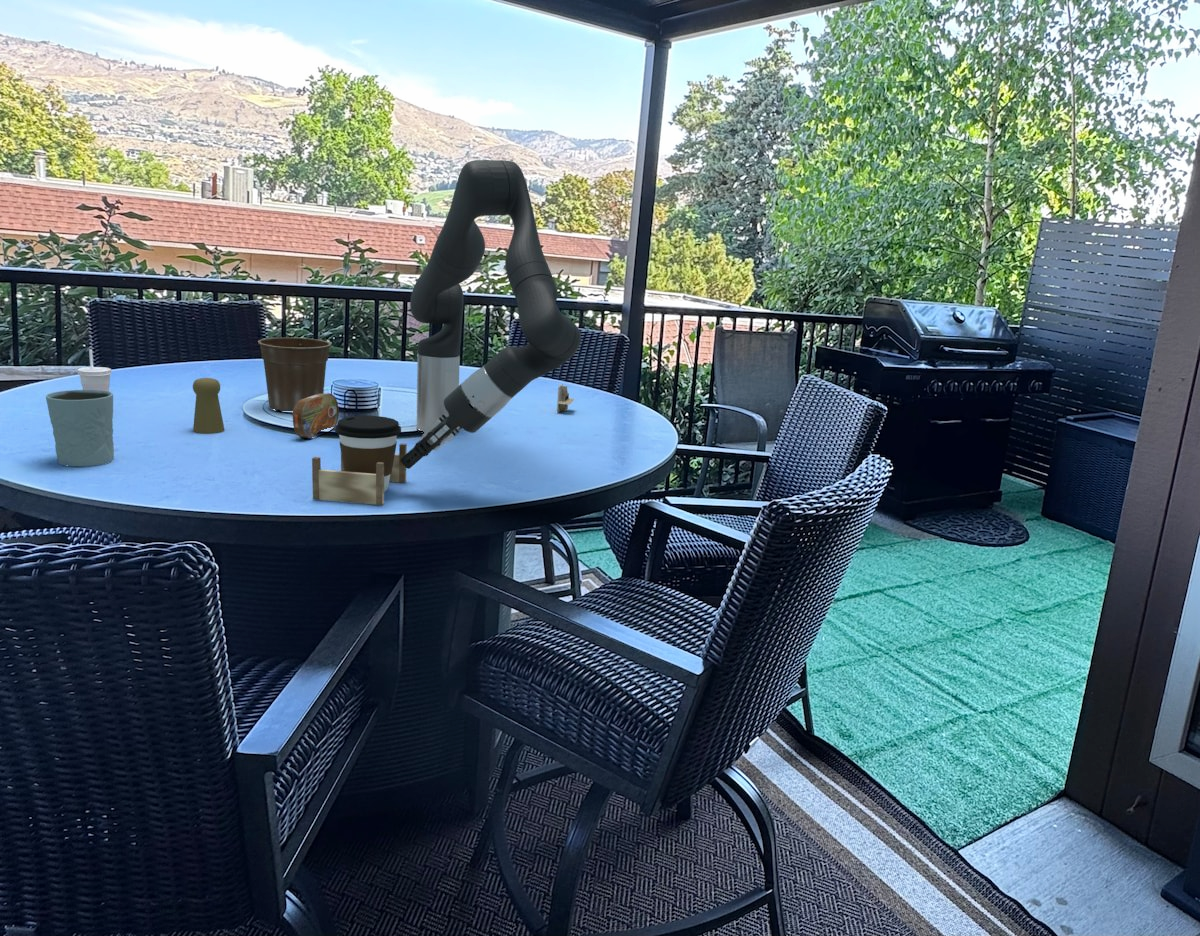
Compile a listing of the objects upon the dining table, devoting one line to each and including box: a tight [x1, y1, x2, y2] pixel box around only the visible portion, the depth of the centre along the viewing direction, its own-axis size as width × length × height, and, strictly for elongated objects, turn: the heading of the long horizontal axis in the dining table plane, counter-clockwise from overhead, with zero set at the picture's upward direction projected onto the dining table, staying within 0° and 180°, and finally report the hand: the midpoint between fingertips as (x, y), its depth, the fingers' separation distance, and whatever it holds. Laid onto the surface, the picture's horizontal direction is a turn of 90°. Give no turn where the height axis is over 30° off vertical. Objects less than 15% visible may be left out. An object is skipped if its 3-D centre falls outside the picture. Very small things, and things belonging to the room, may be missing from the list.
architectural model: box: [556, 383, 575, 414], centre depth 221 cm, size 3×7×7 cm, turn 173°
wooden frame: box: [311, 443, 408, 506], centre depth 144 cm, size 12×14×7 cm
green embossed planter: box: [45, 389, 115, 467], centre depth 149 cm, size 10×10×12 cm
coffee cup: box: [334, 415, 402, 492], centre depth 144 cm, size 11×11×12 cm
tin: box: [292, 393, 340, 439], centre depth 180 cm, size 15×3×8 cm, turn 168°
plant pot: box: [257, 337, 332, 412], centre depth 201 cm, size 16×16×16 cm
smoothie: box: [77, 348, 113, 392], centre depth 183 cm, size 6×6×14 cm
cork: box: [192, 377, 225, 435], centre depth 176 cm, size 6×6×11 cm
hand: (404, 463), depth 143 cm, fingers closed
